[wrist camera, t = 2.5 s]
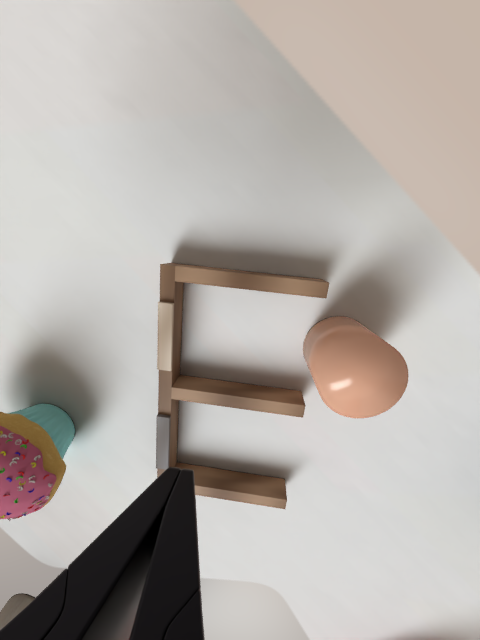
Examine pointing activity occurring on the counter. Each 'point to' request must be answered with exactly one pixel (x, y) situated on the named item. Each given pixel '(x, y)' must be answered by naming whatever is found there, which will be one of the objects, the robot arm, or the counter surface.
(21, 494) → the cupcake
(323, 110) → the counter surface
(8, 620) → the condiment bottle set
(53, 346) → the counter surface
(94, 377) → the counter surface
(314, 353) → the peach domed cylinder
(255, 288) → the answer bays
